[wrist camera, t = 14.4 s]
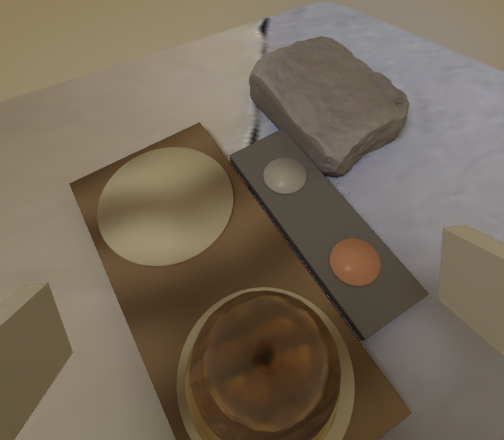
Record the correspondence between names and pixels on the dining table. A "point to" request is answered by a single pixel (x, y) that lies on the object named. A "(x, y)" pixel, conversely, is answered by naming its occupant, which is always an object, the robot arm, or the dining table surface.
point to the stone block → (328, 102)
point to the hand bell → (263, 371)
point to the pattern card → (328, 234)
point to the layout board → (209, 271)
